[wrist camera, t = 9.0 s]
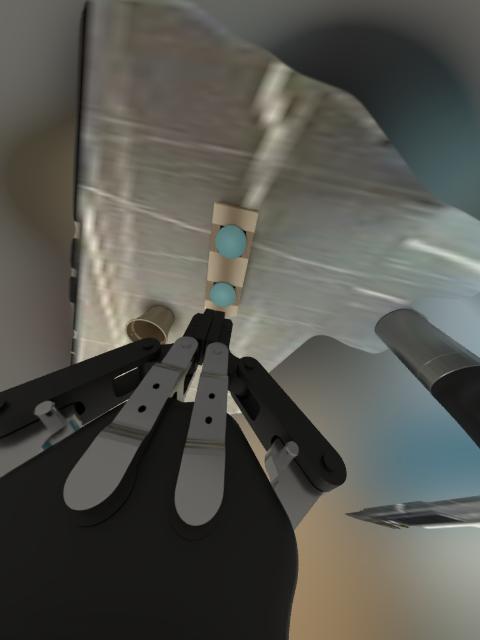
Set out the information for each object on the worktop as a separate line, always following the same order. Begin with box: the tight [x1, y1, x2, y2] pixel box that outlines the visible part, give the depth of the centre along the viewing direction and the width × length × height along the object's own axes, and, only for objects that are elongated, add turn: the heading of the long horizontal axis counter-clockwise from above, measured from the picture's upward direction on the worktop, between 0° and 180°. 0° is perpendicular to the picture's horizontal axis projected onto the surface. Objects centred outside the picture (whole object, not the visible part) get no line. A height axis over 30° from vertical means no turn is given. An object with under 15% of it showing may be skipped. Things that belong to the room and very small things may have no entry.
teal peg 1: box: [215, 225, 247, 259], centre depth 32 cm, size 5×5×7 cm
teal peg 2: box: [210, 282, 236, 307], centre depth 38 cm, size 5×5×7 cm
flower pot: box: [125, 306, 174, 345], centre depth 44 cm, size 9×9×9 cm
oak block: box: [204, 202, 259, 317], centre depth 36 cm, size 7×20×6 cm, turn 169°
